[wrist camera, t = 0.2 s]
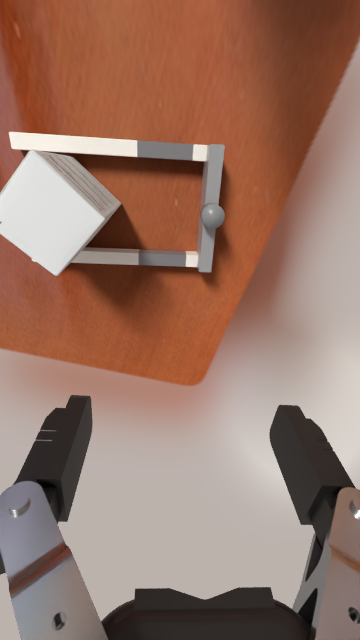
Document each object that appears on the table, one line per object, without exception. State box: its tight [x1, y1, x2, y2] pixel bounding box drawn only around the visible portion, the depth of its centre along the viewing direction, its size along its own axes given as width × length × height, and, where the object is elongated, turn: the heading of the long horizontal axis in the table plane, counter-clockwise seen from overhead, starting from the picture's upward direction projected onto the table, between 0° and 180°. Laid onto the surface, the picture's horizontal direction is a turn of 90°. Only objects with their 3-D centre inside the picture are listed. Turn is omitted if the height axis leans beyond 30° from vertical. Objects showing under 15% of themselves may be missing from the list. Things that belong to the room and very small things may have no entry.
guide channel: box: [9, 132, 225, 272], centre depth 33 cm, size 14×22×6 cm, turn 87°
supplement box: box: [0, 149, 121, 276], centre depth 29 cm, size 7×7×13 cm
